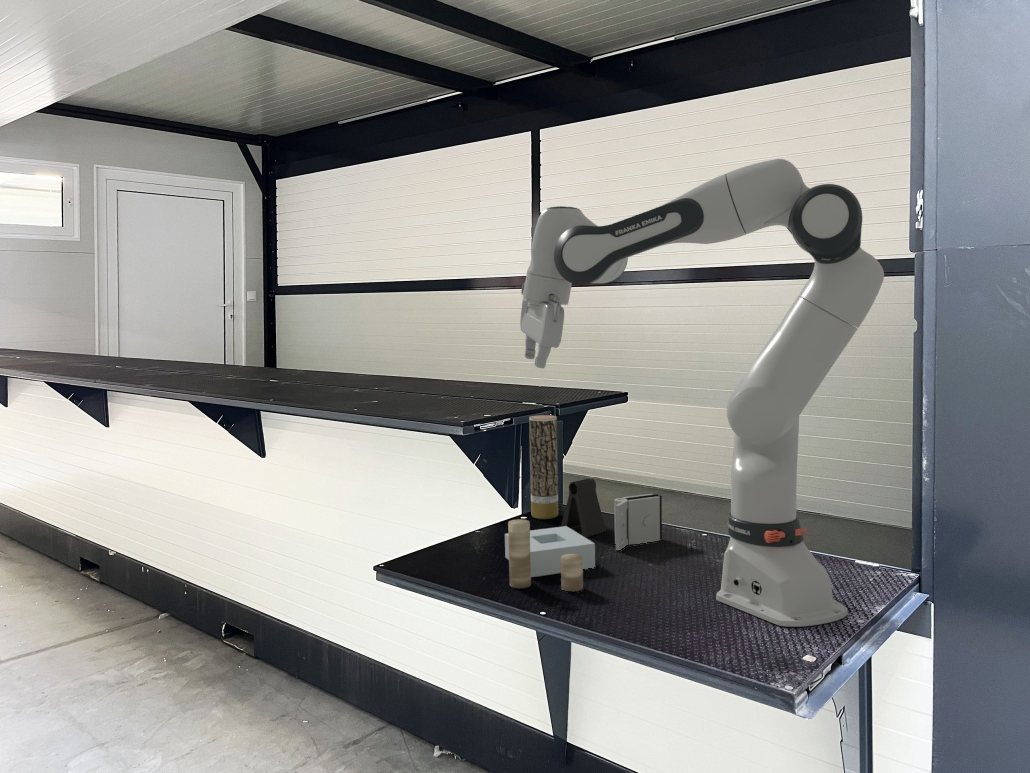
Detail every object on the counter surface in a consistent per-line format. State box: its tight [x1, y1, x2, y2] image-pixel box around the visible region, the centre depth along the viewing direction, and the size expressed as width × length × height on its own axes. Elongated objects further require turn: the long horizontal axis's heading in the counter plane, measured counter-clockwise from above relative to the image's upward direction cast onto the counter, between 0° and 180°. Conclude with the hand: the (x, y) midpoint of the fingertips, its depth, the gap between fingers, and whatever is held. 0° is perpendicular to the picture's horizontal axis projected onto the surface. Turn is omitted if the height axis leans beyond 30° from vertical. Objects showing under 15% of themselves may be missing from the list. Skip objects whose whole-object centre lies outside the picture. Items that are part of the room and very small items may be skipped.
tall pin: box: [507, 518, 532, 589], centre depth 150 cm, size 4×4×12 cm
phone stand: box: [560, 477, 607, 539], centre depth 185 cm, size 9×6×12 cm, turn 40°
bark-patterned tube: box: [528, 414, 559, 520], centre depth 198 cm, size 7×7×25 cm
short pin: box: [560, 554, 584, 592], centre depth 148 cm, size 4×4×6 cm
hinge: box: [613, 493, 663, 551], centre depth 175 cm, size 14×5×10 cm, turn 125°
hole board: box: [504, 526, 596, 578], centre depth 163 cm, size 14×14×5 cm
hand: (534, 362), depth 155 cm, fingers open, 8 cm apart
